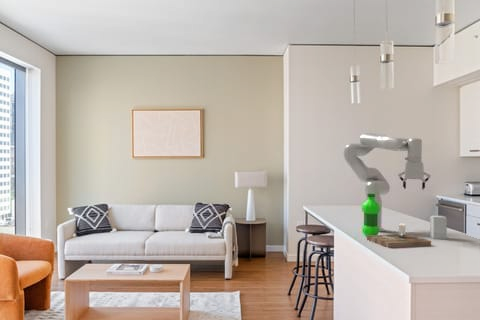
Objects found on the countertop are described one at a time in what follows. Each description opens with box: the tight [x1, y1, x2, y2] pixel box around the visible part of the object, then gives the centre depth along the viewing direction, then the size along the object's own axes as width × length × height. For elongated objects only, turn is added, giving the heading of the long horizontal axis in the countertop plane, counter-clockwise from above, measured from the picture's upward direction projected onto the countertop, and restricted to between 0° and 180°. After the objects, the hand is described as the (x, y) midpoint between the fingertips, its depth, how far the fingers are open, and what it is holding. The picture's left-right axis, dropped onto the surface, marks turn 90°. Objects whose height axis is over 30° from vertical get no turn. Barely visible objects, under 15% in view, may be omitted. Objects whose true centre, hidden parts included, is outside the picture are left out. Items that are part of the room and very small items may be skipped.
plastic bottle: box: [361, 193, 380, 237], centre depth 241 cm, size 10×10×25 cm
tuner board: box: [366, 233, 432, 249], centre depth 225 cm, size 20×26×3 cm
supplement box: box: [429, 215, 448, 240], centre depth 239 cm, size 7×7×13 cm
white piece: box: [398, 222, 406, 237], centre depth 225 cm, size 3×13×7 cm, turn 156°
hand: (413, 189), depth 239 cm, fingers open, 9 cm apart
